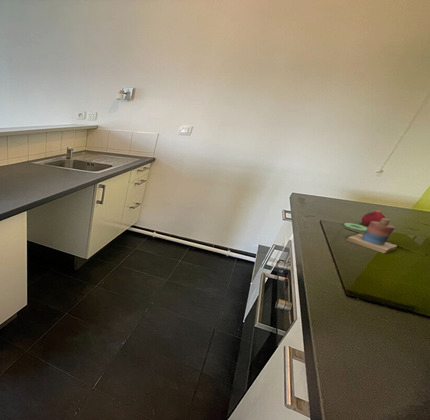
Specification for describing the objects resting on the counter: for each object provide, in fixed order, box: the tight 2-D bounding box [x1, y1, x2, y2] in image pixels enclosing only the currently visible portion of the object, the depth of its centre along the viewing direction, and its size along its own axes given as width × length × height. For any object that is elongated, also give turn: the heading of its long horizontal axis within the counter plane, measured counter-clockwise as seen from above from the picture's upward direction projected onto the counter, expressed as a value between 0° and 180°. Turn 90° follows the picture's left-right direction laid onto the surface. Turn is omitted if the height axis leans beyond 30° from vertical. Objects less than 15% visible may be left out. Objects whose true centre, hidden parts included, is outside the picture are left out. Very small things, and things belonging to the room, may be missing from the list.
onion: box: [361, 209, 386, 227], centre depth 98 cm, size 6×6×8 cm
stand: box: [346, 217, 398, 255], centre depth 84 cm, size 9×9×10 cm
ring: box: [343, 222, 368, 235], centre depth 97 cm, size 7×7×2 cm
